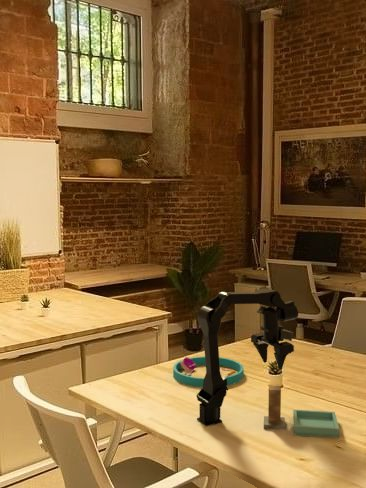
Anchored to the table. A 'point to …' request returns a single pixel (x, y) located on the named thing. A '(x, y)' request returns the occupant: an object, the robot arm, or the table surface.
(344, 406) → the table surface
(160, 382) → the table surface
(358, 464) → the table surface
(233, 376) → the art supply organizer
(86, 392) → the table surface
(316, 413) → the tray
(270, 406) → the handle post
